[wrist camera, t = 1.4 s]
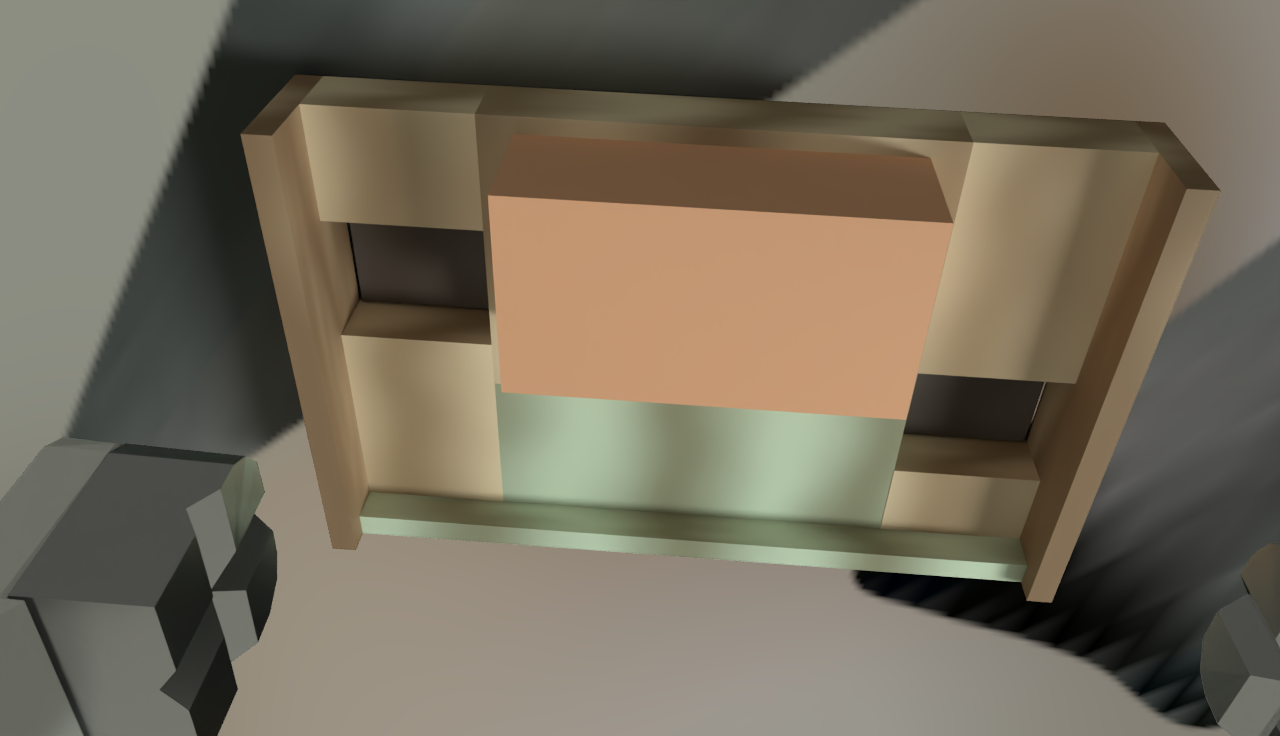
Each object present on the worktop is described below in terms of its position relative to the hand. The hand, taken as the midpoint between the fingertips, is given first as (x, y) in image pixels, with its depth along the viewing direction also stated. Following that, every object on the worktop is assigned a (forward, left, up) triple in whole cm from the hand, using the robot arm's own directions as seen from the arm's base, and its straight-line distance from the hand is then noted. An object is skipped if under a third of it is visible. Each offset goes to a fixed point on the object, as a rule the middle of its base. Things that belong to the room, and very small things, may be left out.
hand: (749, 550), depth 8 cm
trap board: (0, +12, -21) cm, 24 cm away
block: (0, +8, -19) cm, 21 cm away
